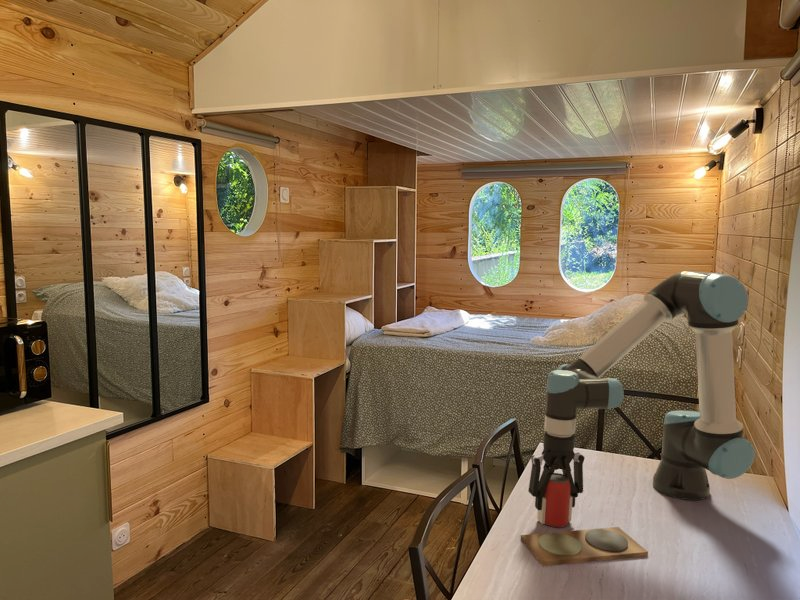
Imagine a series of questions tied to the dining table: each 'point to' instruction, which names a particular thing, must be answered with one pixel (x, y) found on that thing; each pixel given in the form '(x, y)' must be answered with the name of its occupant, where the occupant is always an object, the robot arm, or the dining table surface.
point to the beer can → (557, 501)
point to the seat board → (582, 546)
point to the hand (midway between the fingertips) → (554, 520)
